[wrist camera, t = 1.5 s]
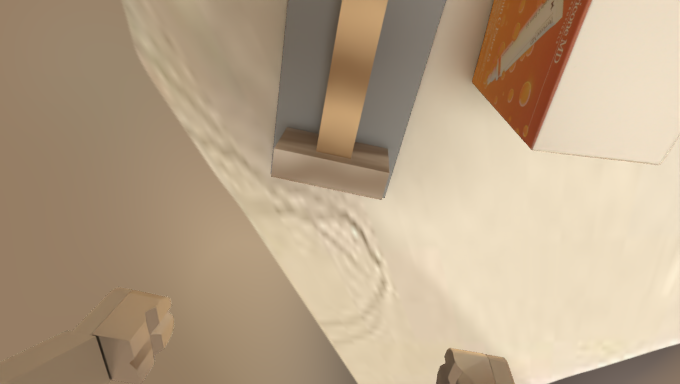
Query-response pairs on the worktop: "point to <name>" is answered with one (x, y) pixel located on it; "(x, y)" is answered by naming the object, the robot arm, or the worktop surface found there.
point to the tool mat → (386, 76)
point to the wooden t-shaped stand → (341, 115)
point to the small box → (586, 75)
